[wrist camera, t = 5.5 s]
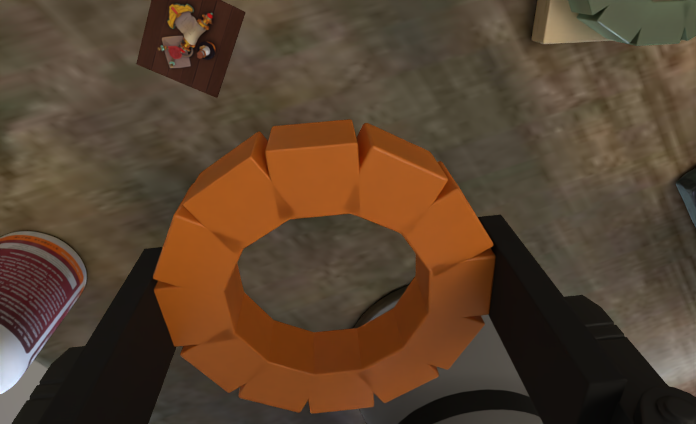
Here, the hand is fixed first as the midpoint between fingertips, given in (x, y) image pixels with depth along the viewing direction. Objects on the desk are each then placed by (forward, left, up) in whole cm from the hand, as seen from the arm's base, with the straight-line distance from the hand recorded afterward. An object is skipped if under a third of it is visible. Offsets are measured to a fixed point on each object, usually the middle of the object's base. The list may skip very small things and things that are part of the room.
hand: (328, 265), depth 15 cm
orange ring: (0, 0, 0) cm, 0 cm away
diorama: (+6, +7, -14) cm, 17 cm away
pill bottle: (-8, +20, -14) cm, 26 cm away
